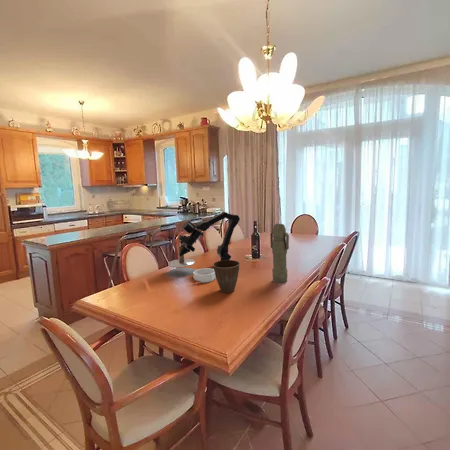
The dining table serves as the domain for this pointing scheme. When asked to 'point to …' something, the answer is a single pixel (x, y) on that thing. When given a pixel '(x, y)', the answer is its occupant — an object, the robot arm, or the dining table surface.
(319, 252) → the dining table surface
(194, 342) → the dining table surface
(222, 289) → the plant pot
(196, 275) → the bowl
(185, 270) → the mat
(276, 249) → the stone statue
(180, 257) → the lid
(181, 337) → the dining table surface
